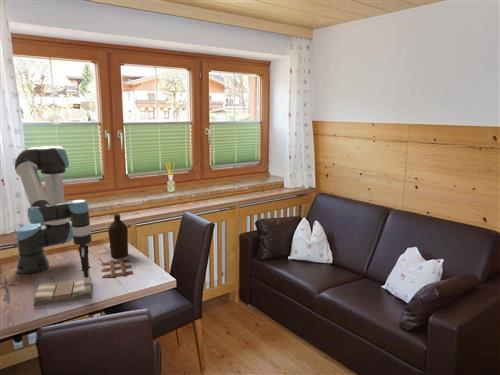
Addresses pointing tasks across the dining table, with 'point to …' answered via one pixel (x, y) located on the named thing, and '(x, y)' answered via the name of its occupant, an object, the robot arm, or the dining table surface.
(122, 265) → the decorative fence
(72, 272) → the dining table surface
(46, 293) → the plank
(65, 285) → the floor board
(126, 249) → the olive oil
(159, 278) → the dining table surface
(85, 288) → the plank
